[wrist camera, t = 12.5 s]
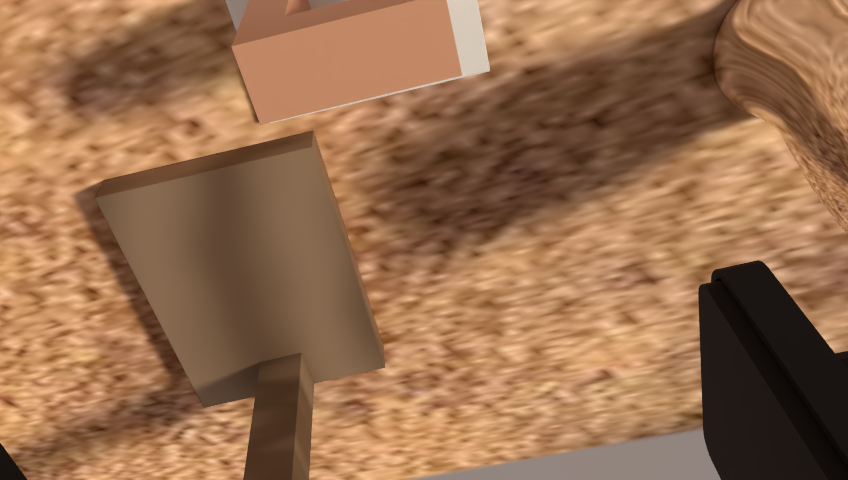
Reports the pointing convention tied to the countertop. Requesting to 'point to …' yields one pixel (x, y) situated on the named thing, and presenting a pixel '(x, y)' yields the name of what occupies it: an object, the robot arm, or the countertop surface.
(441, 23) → the link
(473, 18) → the trivet
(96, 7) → the countertop surface
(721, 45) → the beer glass
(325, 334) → the stand
